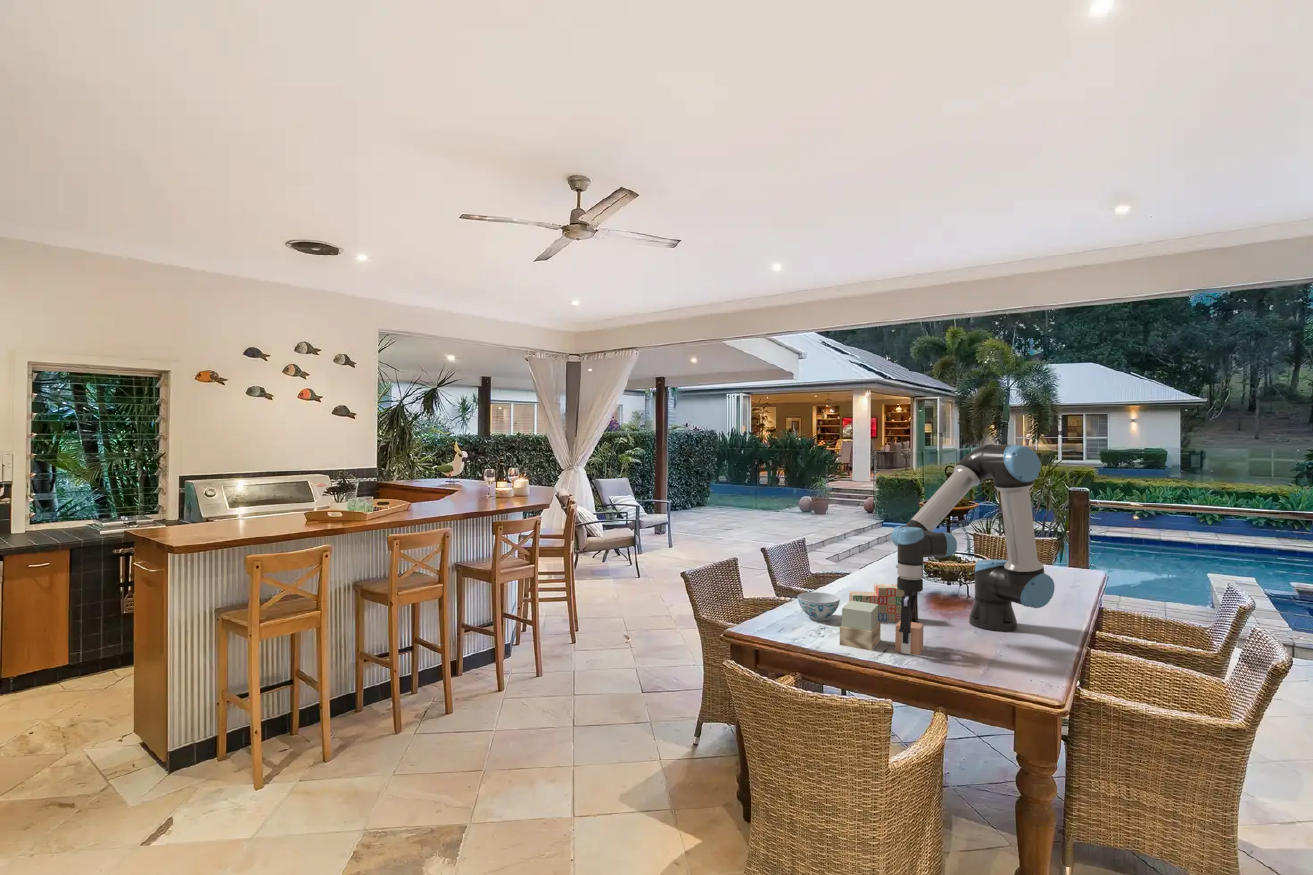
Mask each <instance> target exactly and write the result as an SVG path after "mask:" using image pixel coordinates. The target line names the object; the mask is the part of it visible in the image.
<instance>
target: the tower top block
mask: <svg viewBox="0 0 1313 875" xmlns="http://www.w3.org/2000/svg"><path fill="white" fill-rule="evenodd" d="M878 622H879V621H878V604H874V603H866V602H858V601H851V600H850V601H849V600H848V602H847V603H845V605H844V606H843V607H842V608H841V625H842V627H847V628H854V629H860V630H867V631H871V630H872V629H873V628H874V627H875V626H876V624H877V623H878Z"/></svg>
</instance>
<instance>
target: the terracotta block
mask: <svg viewBox="0 0 1313 875" xmlns="http://www.w3.org/2000/svg"><path fill="white" fill-rule="evenodd" d="M900 623H901V620H900V621H899V622H897V623H896V625H895V640H894V642H895V643H894V644H895V646H894V647H895V648H894V650H895V652H899V653H901V632H899V629H900ZM910 631H911V632H910V633H911V654H910V655H914V656H915V655H916V656H920V655H921V653H922V651H923V650H924V623H923V622H920V623H916V622H911V629H910Z"/></svg>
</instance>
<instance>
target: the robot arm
mask: <svg viewBox="0 0 1313 875" xmlns="http://www.w3.org/2000/svg"><path fill="white" fill-rule="evenodd" d="M1040 472H1041V461H1040V457H1039V456H1038V454H1037V453H1036V452H1035V451H1034V450H1032V448H1031V447H1029V446H1025V445H1020V444H993V443H991V444H985V445H981V446H979V447H977V448H975V449H973V450H972V451H971V452H969V453H968V454H966V455H965V456H964V457H963V458H962V459H961V460H960V461H959V462H958V463H956V465H955V466H954V467H953V473H952V474H951V475H950V476H949V477H948V478H947V480H945V482H944V483H942V485H941V486H940V487H939V488H938V489H937V490H936V491H935V493H934V494H933V495H932V496H931V497H930V498H929V499H928V500H927V501H926V502H925V504H923V506H922V507H920V509H919V510H918V511H917V513H915V515H913V517H911V519H910V520H909V521H908V522H907V523H906V524H905V525H898V526H895V527H894V528H893V530H892V532H891V535H890V536H891V541H892V543H893V545H894V546H895V547H897V564H895V568H896V569H897V576H898V577H897V578H896V584H897V588H898V589H899V590H903V591H904V596H902V600H901V623H900V629H899V632H901V652H900V653H901V654H906V655H912V654H911V633H910V632H911V631H910V629H911V622H916V623H921V621H919V610H918V608H919V602H918V599H919V598H918V595H919V593H920V592H922V591H923V589H924V580H923V577H924V558H945V557H951V556H954V554H956V552H957V550H958V542H957V539H956V537H955V535H953V534H952V533H950V532H943V531H941V532H935V531H934V530H935V529H936V528H937V526H939V525H940V524H941V523H942V521H943V520H944V519H945V518H946V517H947V515H948V514H949V513H950V512H951V511H952V510H953V509H954V508H955V507H956V506H957V504H958V503H959V502H960V501H961V500H962V499H963V498H964V497H965V496H966V495H967V493H968V492H969V491H970V490H971V489H972V488H973V487H978V486H979V485H980V484H981V483H982V482H983V481H985V480H989V479H993V485H994V486H993V487H994V488H995V489H996V490H998V491H999V492H1000V495H999V496H1000V502H1001V510H1002V519H1003V528H1004V534H1005V543H1006V544H1005V545H1006V552H1007V559H980V560H978V561H976V563H975V568H974V569H975V570H974V603H973V604H972V608H971V610H970V613H969V616H968V617H969V619H968V622H969V624H970V625H972V626H973V627H976V628H979V629H983V630H990V631H995V632H1012V631H1015V630H1017V629H1018V620H1017V618H1016V615H1015V612H1014V609H1013V604H1012V603H1015V604H1017V605H1018V604H1019V605H1021V606H1024V607H1027V608H1033V609H1041V608H1043V607H1045V606H1046V605H1048V603H1050V601H1051V600H1052V599H1053V596H1054V594H1055V586H1056V585H1055V582H1054V579H1053V578H1052V577H1051V576H1050V575H1048V574H1046V573H1045V566H1044V564H1043V562H1040V561H1039V560H1038V553H1037V543H1036V535H1035V526H1034V520H1033V518H1034V517H1033V512H1032V511H1033V510H1032V501H1031V494H1030V489H1031V488H1033V486H1034V485H1035V480H1037V478H1038V476H1040V474H1039V473H1040Z"/></svg>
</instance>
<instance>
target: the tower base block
mask: <svg viewBox="0 0 1313 875" xmlns="http://www.w3.org/2000/svg"><path fill="white" fill-rule="evenodd" d="M881 625H882V623H881V621H878V623H877V624H876V626H875V627H874V628H873V629H872V630H871V631H867V630H860V629H854V628H847V627H842V624H841V625H840V626H839V646H843V647H848V648H854V649H855V648H856V649H861V650H867V651H873V650H874V649H875V647H876V646H877V645H878V644H879V643H880V641H881V627H882V626H881Z"/></svg>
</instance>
